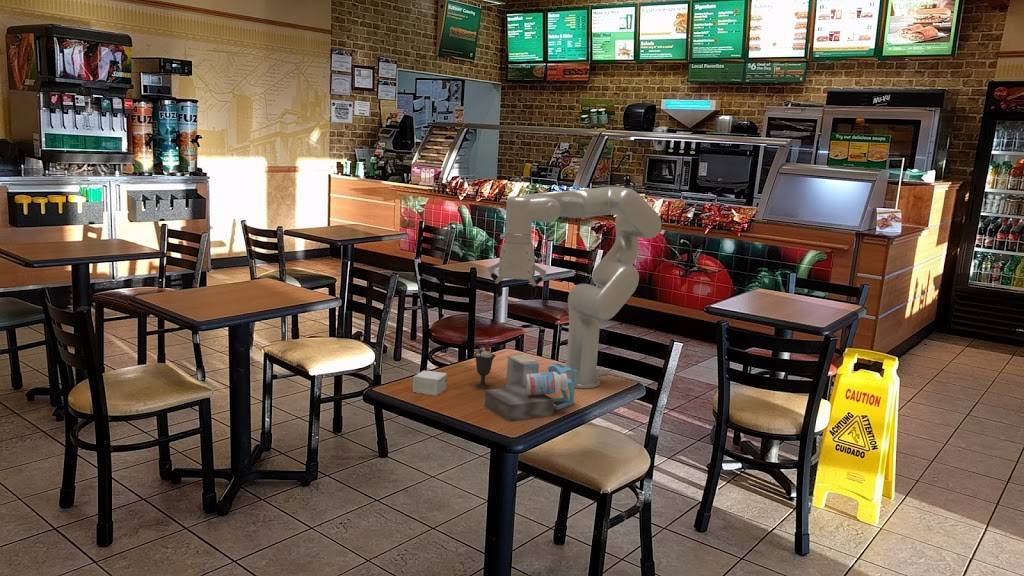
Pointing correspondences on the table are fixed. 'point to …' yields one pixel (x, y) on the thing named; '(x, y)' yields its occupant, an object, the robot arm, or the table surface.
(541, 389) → the pill bottle
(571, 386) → the chair
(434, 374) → the small box
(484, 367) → the sundae
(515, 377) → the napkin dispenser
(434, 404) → the table surface
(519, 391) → the riser block
